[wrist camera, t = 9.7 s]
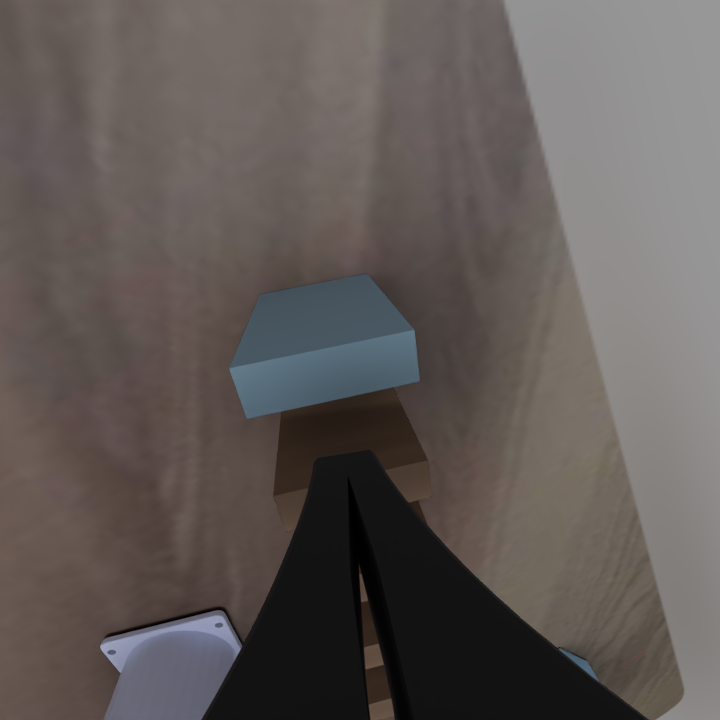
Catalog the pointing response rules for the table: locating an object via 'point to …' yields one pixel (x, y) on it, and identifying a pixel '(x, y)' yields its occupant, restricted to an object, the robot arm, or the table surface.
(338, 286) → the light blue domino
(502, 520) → the table surface
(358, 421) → the walnut domino
